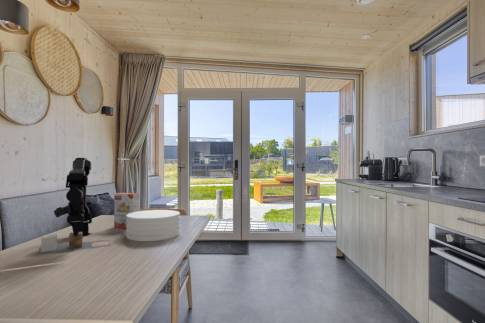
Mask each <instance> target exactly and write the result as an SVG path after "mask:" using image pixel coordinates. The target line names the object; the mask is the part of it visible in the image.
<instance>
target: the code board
mask: <svg viewBox="0 0 485 323" xmlns="http://www.w3.org/2000/svg"><path fill="white" fill-rule="evenodd" d="M110 242H111V241H110V239H104V240H94V241H87V242H82V247H80V248H71V249H69V243H68V244H61V245H60V244H59V245H58V244H57V248H56V250H55V251H47V252H41V247H39V248H38V250H37V251H36V253H35V256H38V255H40V256H41V255H46V254H54V253H55V254H56V253H64V252H71V251H79V250H80V251H81V250H87V249H88V250H89V249H97V248H103V247H104V248H105V247H111V243H110Z"/></svg>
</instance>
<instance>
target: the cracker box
mask: <svg viewBox="0 0 485 323" xmlns="http://www.w3.org/2000/svg"><path fill="white" fill-rule="evenodd" d="M113 208H114V209H113V213H114V214H113V216H114V217H113V227H114V228H120V229H127V228H126V224H127V223H126V220H127V218H126V215H127V214H129V213H133V212H138V211H140V193H135V192H134V193H132V192H131V193H130V192H115V193H114V203H113Z"/></svg>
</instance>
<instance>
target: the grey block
mask: <svg viewBox="0 0 485 323" xmlns="http://www.w3.org/2000/svg"><path fill="white" fill-rule="evenodd" d="M40 241H41V244H40V246H41V252H47V251H55V250H56V248H57V246H58V244H57V243H58V242H57V241H58V235H57V234H55V233H54V234H43V235H42V237H41V240H40Z"/></svg>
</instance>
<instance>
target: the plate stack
mask: <svg viewBox="0 0 485 323" xmlns="http://www.w3.org/2000/svg"><path fill="white" fill-rule="evenodd" d="M180 215H181V213H180V211H178V210H173V209H149V210H148V209H147V210H139V211H138V212H133V213H129V214H127V215H126V218H127V220H126V223H127V224H126V228H125V229H126V230H125V238H126V239H128V240H130V241H136V242H155V241H162V240H163V241H164V240H168V239H172V238H175V237H178V236H179V235H180V234H179V233H181V231H180V229H181V226H180V224H181V222H180V220H181V218H180V217H181V216H180Z"/></svg>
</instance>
